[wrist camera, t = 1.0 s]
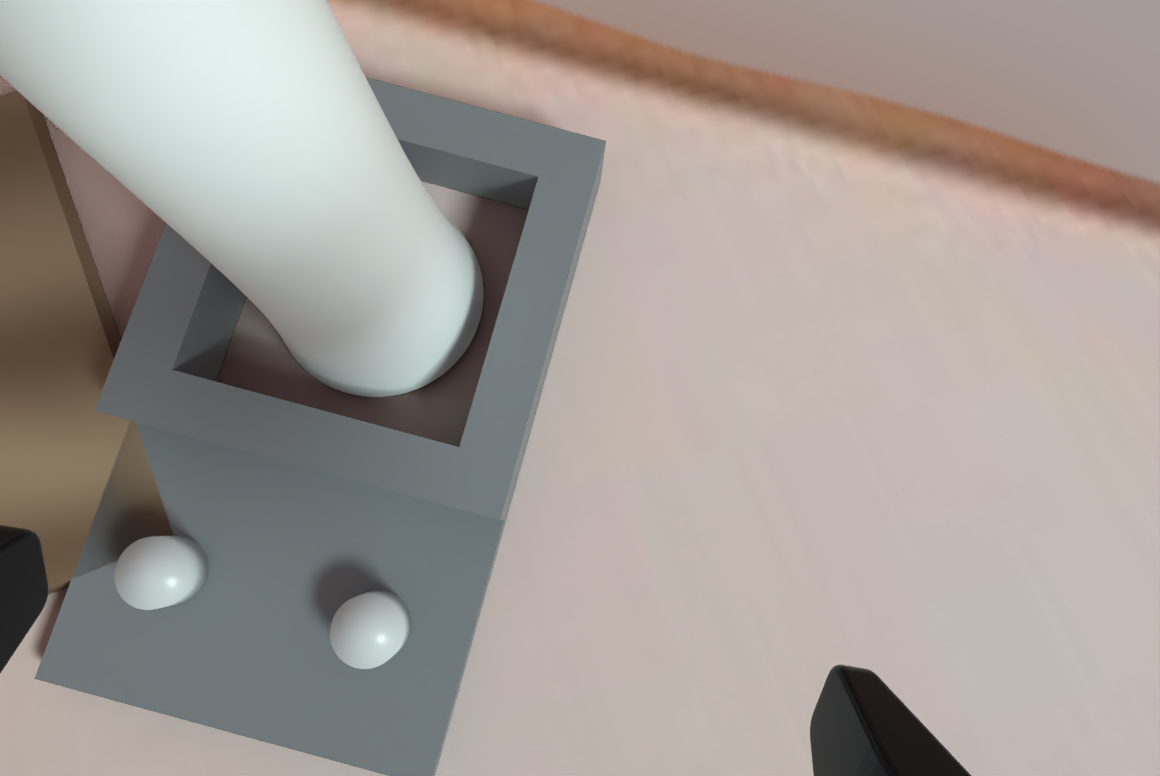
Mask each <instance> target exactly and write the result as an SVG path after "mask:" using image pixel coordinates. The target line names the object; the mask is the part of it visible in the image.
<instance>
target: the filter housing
mask: <svg viewBox="0 0 1160 776" xmlns="http://www.w3.org/2000/svg"><path fill="white" fill-rule="evenodd" d="M366 79H367V81H368V83H369V85H370V87H371V89H372V91H373V93H374V95H375V97H376V99H377V101H378V103H379V105H380V107H381V109H382V111H383V112H384V114H385V116H386V118H387V120H388V122H389V124H390V126H391V128H392V130H393V132H394V133H395V135H396V137H397V139H398V141H399V143H400V145H401V147H402V149H403V151H404V153H405V154H406V156H407V158H408V160H409V161H410V163H411V165H412V167H413V168H414V170H415V172H416V174H417V175H418V177H419V179H420V180H421V181H424V182H428V183H431V184H435V185H439V186H443V187H446V188H450V189H454V190H458V191H461V192H465V193H469V194H473V195H476V196H480V197H484V198H488V199H492V200H495V201H499V202H503V203H507V204H510V205H514V206H518V207H522V208H525V209H529V211H528V214H527V218H526V221H525V224H524V228H523V231H522V235H521V238H520V242H519V245H518V248H517V252H516V255H515V259H514V262H513V265H512V269H511V272H510V276H509V279H508V282H507V286H506V289H505V293H504V296H503V299H502V303H501V306H500V310H499V313H498V316H497V320H496V323H495V327H494V330H493V334H492V337H491V340H490V344H489V347H488V351H487V354H486V357H485V361H484V364H483V368H482V371H481V374H480V378H479V381H478V385H477V388H476V391H475V395H474V398H473V402H472V405H471V408H470V412H469V415H468V419H467V422H466V426H465V429H464V432H463V436H462V439H461V443H460V446H459V447H457V446H453V445H450V444H446V443H442V442H439V441H435V440H431V439H427V438H424V437H420V436H416V435H412V434H409V433H405V432H401V431H398V430H394V429H390V428H386V427H383V426H379V425H375V424H372V423H368V422H364V421H360V420H357V419H353V418H349V417H346V416H342V415H338V414H334V413H331V412H327V411H323V410H320V409H316V408H312V407H308V406H305V405H301V404H297V403H294V402H290V401H286V400H282V399H279V398H275V397H271V396H268V395H264V394H260V393H256V392H253V391H249V390H245V389H242V388H238V387H234V386H230V385H227V384H223V383H219V382H216V380H217V377H218V374H219V371H220V369H221V366H222V363H223V360H224V357H225V354H226V352H227V349H228V346H229V343H230V340H231V337H232V335H233V332H234V329H235V326H236V323H237V321H238V318H239V315H240V312H241V309H242V306H243V304H244V301H245V298H246V296H245V295H244V294H243V293H242V292H241V291H240V290H239V289H238V288H237V287H236V286H235V285H234V284H233V283H232V282H231V281H230V280H229V279H228V278H227V277H226V276H225V275H224V274H223V273H221V272H220V271H219V270H218V269H217V268H216V267H215V266H214V265H213V264H211V263H210V262H209V261H208V260H207V259H206V258H205V257H204V256H203V255H201V254H200V253H199V252H198V251H197V250H196V249H195V248H194V247H193V246H192V245H190V244H189V243H188V242H187V241H186V240H185V239H184V238H183V237H182V236H180V235H179V234H178V233H177V232H176V231H175V230H174V229H172V228H171V227H170V226H169V225H168V224H167V223H165V226H164V229H163V231H162V234H161V236H160V239H159V242H158V244H157V247H156V250H155V252H154V255H153V258H152V260H151V263H150V265H149V268H148V271H147V273H146V276H145V279H144V281H143V284H142V287H141V289H140V292H139V294H138V297H137V300H136V302H135V305H134V308H133V310H132V313H131V316H130V318H129V321H128V324H127V326H126V329H125V331H124V334H123V337H122V339H121V342H120V345H119V347H118V350H117V353H116V355H115V358H114V360H113V363H112V366H111V368H110V371H109V374H108V376H107V379H106V382H105V384H104V387H103V389H102V392H101V395H100V397H99V400H98V403H97V405H96V408H95V411H97V412H101V413H105V414H108V415H112V416H116V417H119V418H123V419H127V420H130V421H134V422H135V423H136V425H135V426H137V429H138V432H139V435H140V438H141V441H142V442H141V443H142V445H143V446H144V449H145V450H144V451H145V452H146V455H147V459H148V462H149V464H150V465H148V466H150V467H151V470H152V473H153V474H152V475H153V476H154V479H155V482H156V483H155V482H154V483H155V484H156V485H157V488H158V490H159V494H160V496H161V499H162V500H161V501H160V502H162V503H163V504H162V505H164V508H165V511H166V514H167V517H168V520H169V524H170V525H169V526H171V528H172V532H173V534H174V536H172V535H171V536H160V535H159V536H152V535H151V536H152V537H149V534H150V533H151V532H150V533H149V532H148V531H151V529H149V530H148V531H147V532H148V533H149V534H148V537H147V536H146V535H145V532H146V531H145V532H144V531H143V532H144V536H146V537H145V538H142V539H140V537H141V536H139V540H136V539H138V538H137V535H136V539H134V540H135V541H134V540H133V541H134V542H133V541H132V542H131V541H130V542H131V543H132V544H131V543H130V544H131V545H130V544H128V545H126V546H128V547H126V548H125V547H124V548H123V547H122V546H121V545H122V544H121V545H118V546H119V548H118V547H115V546H117V545H115V546H114V544H115V543H114V542H116V541H115V540H114V538H115V536H117V534H119V535H120V534H121V536H123V535H124V533H123V535H122V532H123V531H122V530H123V529H124V530H125V527H122V528H123V529H121V528H120V531H122V532H121V533H117V534H115V535H114V536H113V540H111V539H112V538H111V537H112V530H111V533H110V534H111V535H110V536H111V537H110V536H108V535H107V534H106V533H105V531H106V530H107V531H106V532H109V531H108V530H109V529H104V530H105V531H104V530H103V532H104V533H105V534H106V537H107V536H108V537H110V538H111V539H109V540H110V542H109V543H108V541H109V540H108V539H107V538H106V537H105V538H106V539H107V540H108V541H107V544H106V543H105V544H104V549H103V547H101V545H102V544H103V543H102V539H103V538H104V537H103V536H104V535H105V534H102V535H103V536H102V539H100V538H101V537H99V536H100V535H101V534H100V533H101V531H100V530H102V528H104V527H106V528H109V525H108V524H110V526H111V527H110V529H113V528H112V525H111V523H112V524H114V523H113V522H111V521H112V519H115V518H116V520H117V521H118V522H119V518H117V516H118V515H117V514H115V516H116V517H115V516H114V514H113V518H112V519H111V517H110V514H112V513H110V512H112V511H110V510H108V512H109V511H110V512H109V517H110V518H108V519H110V520H109V521H107V522H109V523H107V522H106V521H105V519H104V525H103V522H102V524H101V523H100V522H101V521H102V520H103V519H102V517H105V516H104V514H103V515H102V514H101V513H105V514H107V512H106V511H103V509H105V508H104V506H102V505H103V504H104V503H106V504H107V506H108V505H109V504H110V503H112V502H111V501H113V500H111V501H108V500H109V499H111V498H110V497H111V496H112V497H113V496H114V492H115V491H114V492H112V491H109V490H108V489H107V488H106V489H107V491H109V492H112V493H113V495H110V497H109V496H108V495H107V496H108V497H107V496H106V491H105V490H104V493H105V496H106V497H107V498H108V499H107V498H106V497H105V498H106V499H105V498H102V499H104V500H107V501H108V502H110V503H108V502H106V501H104V502H103V504H102V500H101V501H100V502H101V503H99V504H100V505H101V506H100V505H99V506H100V507H99V506H98V509H99V508H101V507H102V512H101V511H100V510H101V509H99V514H101V515H100V518H99V517H96V516H95V517H96V518H98V520H97V519H94V520H93V521H94V522H95V521H96V520H97V521H99V519H102V520H101V521H99V523H100V525H103V526H104V527H102V526H100V527H99V526H98V527H99V528H98V527H97V528H98V529H99V532H98V531H96V532H95V531H94V532H93V530H92V529H93V527H92V526H91V527H92V528H91V529H90V531H92V533H95V534H92V533H89V534H90V535H91V534H92V535H94V536H92V535H91V536H92V537H93V539H94V537H96V538H97V539H100V540H101V543H102V544H100V543H99V542H100V541H99V540H97V539H96V540H97V541H98V542H95V539H94V541H93V540H92V537H91V538H89V537H88V536H87V538H86V541H85V544H86V543H90V544H89V547H91V546H93V548H95V549H96V550H98V549H97V548H96V547H98V548H99V549H100V548H102V549H103V550H102V549H100V550H98V551H99V552H98V551H97V553H95V554H94V552H93V550H94V549H92V548H91V551H90V550H89V549H90V548H89V547H88V546H85V547H84V548H83V549H82V552H83V550H84V552H83V554H82V553H81V555H80V557H79V561H78V563H79V562H80V561H81V557H83V560H84V559H85V561H86V562H85V561H82V562H85V563H86V565H85V563H82V562H81V564H77V566H76V567H77V572H76V568H75V571H74V575H73V576H72V579H71V582H70V584H69V587H68V590H67V593H66V595H65V598H64V601H63V603H62V606H61V609H60V611H59V614H58V617H57V620H56V622H55V625H54V628H53V630H52V633H51V636H50V638H49V641H48V644H47V647H46V649H45V652H44V655H43V657H42V660H41V663H40V665H39V668H38V671H37V674H36V676H35V679H38V680H41V681H45V682H48V683H52V684H56V685H59V686H63V687H67V688H70V689H74V690H78V691H81V692H85V693H89V694H92V695H96V696H100V697H103V698H107V699H111V700H114V701H118V702H122V703H125V704H129V705H133V706H136V707H140V708H143V709H147V710H151V711H154V712H158V713H162V714H165V715H169V716H173V717H176V718H180V719H184V720H187V721H191V722H195V723H198V724H202V725H206V726H209V727H213V728H217V729H220V730H224V731H228V732H231V733H235V734H238V735H242V736H246V737H249V738H253V739H257V740H260V741H264V742H268V743H271V744H275V745H279V746H282V747H286V748H290V749H293V750H297V751H301V752H304V753H308V754H312V755H315V756H319V757H323V758H326V759H330V760H334V761H337V762H341V763H344V764H348V765H352V766H355V767H359V768H363V769H366V770H370V771H374V772H377V773H381V774H385V775H388V776H435V773H436V769H437V766H438V762H439V758H440V755H441V751H442V748H443V744H444V740H445V737H446V733H447V730H448V726H449V723H450V719H451V715H452V712H453V708H454V705H455V701H456V697H457V694H458V690H459V687H460V683H461V679H462V676H463V672H464V669H465V665H466V661H467V658H468V654H469V651H470V647H471V643H472V640H473V636H474V633H475V629H476V626H477V622H478V618H479V615H480V611H481V608H482V604H483V600H484V597H485V593H486V590H487V586H488V582H489V579H490V575H491V572H492V568H493V564H494V561H495V557H496V554H497V550H498V546H499V543H500V539H501V536H502V532H503V529H504V525H505V521H506V518H507V514H508V511H509V507H510V503H511V500H512V496H513V493H514V489H515V485H516V482H517V478H518V475H519V471H520V467H521V464H522V460H523V457H524V453H525V449H526V446H527V442H528V439H529V435H530V431H531V428H532V424H533V421H534V417H535V414H536V410H537V406H538V403H539V399H540V396H541V392H542V388H543V385H544V381H545V378H546V374H547V370H548V367H549V363H550V360H551V356H552V352H553V349H554V345H555V342H556V338H557V334H558V331H559V327H560V324H561V320H562V317H563V313H564V309H565V306H566V302H567V299H568V295H569V291H570V288H571V284H572V281H573V277H574V273H575V270H576V266H577V263H578V259H579V255H580V252H581V248H582V245H583V241H584V237H585V234H586V230H587V227H588V223H589V220H590V216H591V212H592V209H593V205H594V202H595V198H596V194H597V191H598V187H599V184H600V180H601V173H602V166H603V158H604V151H605V144H606V141H604V140H600V139H597V138H593V137H589V136H585V135H581V134H578V133H574V132H570V131H566V130H563V129H559V128H555V127H551V126H547V125H544V124H540V123H536V122H532V121H529V120H525V119H521V118H517V117H513V116H510V115H506V114H502V113H498V112H495V111H491V110H487V109H483V108H479V107H476V106H472V105H468V104H464V103H461V102H457V101H453V100H449V99H445V98H442V97H438V96H434V95H430V94H427V93H423V92H419V91H415V90H411V89H408V88H404V87H400V86H396V85H393V84H389V83H385V82H381V81H377V80H374V79H370V78H366ZM128 426H129V425H128ZM130 427H131V426H130ZM128 429H129V428H128ZM130 429H131V430H132V428H130ZM132 431H134V430H132ZM136 432H137V431H136ZM134 433H135V432H134ZM125 434H126V433H125ZM129 434H131V433H130V432H129ZM136 434H137V433H136ZM127 435H128V433H127ZM132 435H133V434H131V436H132ZM128 436H129V435H128ZM133 436H134V435H133ZM124 437H125V436H124ZM126 437H127V436H126ZM123 439H124V438H123ZM131 439H133V438H132V437H131ZM127 440H128V438H127ZM137 440H138V439H137ZM139 440H140V439H139ZM129 441H130V442H131V441H132V440H129ZM129 441H128V442H129ZM124 442H125V441H124ZM128 442H127V443H128ZM134 442H135V441H134ZM122 443H123V442H122ZM127 443H125V445H126V444H127ZM122 445H123V444H122ZM129 446H130V445H129ZM125 447H126V446H125ZM131 447H132V446H131ZM135 447H136V446H135ZM122 448H123V447H122ZM122 448H121V449H122ZM141 448H142V446H141ZM121 449H120V452H122V451H121ZM123 449H124V448H123ZM138 449H139V448H138ZM124 450H125V449H124ZM142 450H143V448H142ZM140 451H141V449H140ZM124 452H125V451H124ZM126 452H127V451H126ZM128 452H129V451H128ZM136 452H137V451H135V453H136ZM130 453H131V452H130ZM140 453H141V454H142V452H140ZM120 454H121V453H120ZM127 454H128V453H127ZM137 454H138V453H137ZM124 455H125V454H124ZM124 455H123V456H124ZM128 455H129V454H128ZM144 455H145V454H144ZM119 456H120V455H119ZM121 456H122V455H121ZM131 456H132V455H131ZM127 457H128V456H127ZM135 457H137V455H136V456H134V459H135ZM142 457H143V456H142ZM119 458H120V457H119ZM121 458H122V457H121ZM123 458H124V457H123ZM125 458H126V457H125ZM131 459H133V458H131ZM131 459H130V460H131ZM134 459H133V460H134ZM143 459H144V458H143ZM143 459H142V460H143ZM117 460H118V458H117ZM117 460H116V461H117ZM122 460H123V459H122ZM125 460H126V459H125ZM125 460H123V461H124V462H126V461H125ZM135 460H136V459H135ZM127 461H128V460H127ZM139 461H140V460H139ZM124 462H122V463H124ZM145 462H146V461H145ZM145 462H144V463H145ZM116 463H117V462H116ZM118 463H119V462H118ZM126 463H128V462H126ZM130 463H132V462H130ZM134 463H136V462H134ZM134 463H133V465H134ZM141 463H143V462H141ZM136 464H137V463H136ZM139 464H140V463H139ZM114 465H115V463H114ZM117 465H118V464H117ZM120 465H121V464H120ZM124 465H125V464H124ZM127 465H128V464H127ZM127 465H125V466H127ZM133 465H132V466H133ZM146 465H147V463H146ZM118 466H119V465H118ZM137 466H138V465H137ZM139 466H140V465H139ZM141 466H142V465H141ZM143 466H144V465H143ZM116 467H117V466H116ZM116 467H114V468H116ZM120 467H121V466H120ZM129 467H130V466H129ZM134 467H135V466H134ZM117 468H118V467H117ZM126 468H127V467H126ZM147 468H149V467H147ZM120 469H121V468H120ZM129 469H130V468H129ZM129 469H127V470H129ZM136 469H138V470H139V467H138V468H136ZM114 470H117V469H114ZM114 470H112V471H114ZM118 470H119V469H118ZM118 470H117V472H118ZM122 470H124V469H122ZM125 470H126V469H125ZM125 470H124V471H125ZM132 470H133V467H132ZM147 470H148V469H147ZM134 471H135V470H134ZM134 471H133V472H134ZM140 471H142V469H141V470H140ZM149 471H150V470H149ZM114 472H116V471H114ZM117 472H116V473H117ZM120 472H122V471H120ZM120 472H118V473H119V474H120ZM128 472H129V471H128ZM111 473H112V472H111ZM124 473H125V472H124ZM136 473H137V471H136ZM139 473H140V474H141V472H139ZM143 473H144V472H143ZM145 473H147V472H145ZM148 473H149V472H148ZM119 474H116V477H117V475H119ZM132 474H133V473H132ZM114 475H115V473H114V474H113V475H112V476H113V477H115V476H114ZM120 475H123V474H120ZM124 475H125V474H124ZM136 475H137V474H136ZM136 475H133V476H135V478H136V477H137V476H140V475H137V476H136ZM126 476H127V475H126ZM145 476H146V475H145ZM113 477H112V478H113ZM118 477H120V476H118ZM118 477H117V478H118ZM121 477H122V478H123V476H121ZM121 477H120V478H121ZM130 477H132V476H131V474H130ZM143 477H144V476H143ZM109 478H111V474H110V477H109ZM112 478H111V481H112V480H114V479H115V478H114V479H112ZM120 478H119V479H120ZM124 478H125V477H124ZM128 478H129V476H128ZM128 478H127V480H128V481H129V479H128ZM135 478H134V479H135ZM145 478H146V477H145ZM146 479H147V478H146ZM151 479H152V477H151ZM151 479H150V481H151ZM116 480H117V479H116ZM116 480H115V481H116ZM127 480H126V483H127ZM130 480H131V479H130ZM143 480H144V479H143ZM121 481H122V479H121ZM124 481H125V480H124ZM124 481H123V482H124ZM137 481H138V480H137ZM144 481H145V480H144ZM152 481H153V480H152ZM108 482H109V479H108ZM123 482H122V483H123ZM130 482H131V483H132V481H130ZM135 482H136V481H134V483H135ZM139 482H140V481H138V484H139ZM147 482H148V481H147ZM109 483H110V482H109ZM109 483H108V484H109ZM112 483H113V482H112ZM115 483H117V482H115ZM118 483H120V482H118ZM118 483H117V484H118ZM143 483H144V482H143ZM148 483H149V482H148ZM127 484H129V482H128V483H127ZM127 484H125V485H126V487H127ZM145 484H146V483H145ZM150 484H152V482H150ZM109 485H110V484H109ZM118 485H119V484H118ZM148 485H149V484H148ZM148 485H145V486H148ZM131 486H132V484H131ZM131 486H129V489H130V487H131ZM134 486H135V485H134ZM141 486H142V485H141ZM107 487H108V485H107ZM115 487H116V486H115ZM123 487H124V484H123ZM126 487H125V488H126ZM110 488H111V486H110ZM112 488H114V486H113V487H112ZM112 488H111V489H112ZM117 488H119V487H117ZM120 488H122V487H120ZM120 488H119V489H120ZM146 488H147V487H146ZM157 488H156V489H157ZM123 489H124V488H122V489H121V490H123ZM126 489H127V488H126ZM133 489H134V487H133ZM142 489H143V488H141V490H140V491H141V492H142ZM115 490H117V489H115ZM130 490H131V489H130ZM138 490H139V489H138V488H137V491H138ZM143 490H145V488H144V489H143ZM149 490H150V487H149ZM149 490H148V491H149ZM151 490H152V489H151ZM118 491H119V490H117V492H118ZM123 491H124V490H123ZM126 491H128V490H126ZM133 491H134V490H133ZM133 491H130V492H133ZM137 491H136V492H137ZM146 491H147V490H146ZM154 491H155V490H154ZM121 492H122V491H121ZM124 492H125V491H124ZM124 492H123V493H124ZM128 492H129V491H128ZM128 492H127V493H128ZM141 492H140V493H141ZM149 492H150V491H149ZM151 492H152V491H151ZM112 493H109V494H112ZM115 493H116V492H115ZM127 493H126V494H127ZM138 493H139V492H138ZM120 494H121V493H120ZM126 494H125V495H126ZM128 494H129V493H128ZM136 494H137V493H136ZM141 494H142V493H141ZM144 494H145V493H143V495H144ZM156 494H157V493H156ZM117 495H118V493H117ZM121 495H123V494H121ZM121 495H120V496H121ZM129 495H130V496H131V495H132V494H129ZM134 495H135V494H134ZM137 495H138V494H137ZM151 495H152V493H151ZM157 495H158V494H157ZM115 496H116V495H115ZM144 496H146V495H144ZM144 496H143V497H144ZM147 496H148V495H147ZM102 497H104V496H102ZM121 497H122V496H121ZM121 497H120V498H121ZM140 497H141V496H140ZM143 497H142V498H143ZM156 497H157V496H156ZM113 498H114V499H115V497H113ZM113 498H112V499H113ZM117 498H119V496H117ZM117 498H116V499H117ZM122 498H123V497H122ZM124 498H125V497H124ZM124 498H123V499H124ZM127 498H128V496H127ZM135 498H137V497H135ZM138 498H139V497H138ZM138 498H137V499H138ZM144 498H145V497H144ZM150 498H152V497H150ZM129 499H131V498H129ZM145 499H146V498H145ZM145 499H144V500H145ZM152 499H154V498H152ZM155 499H156V498H155ZM155 499H154V503H155ZM158 499H160V497H158ZM117 500H118V499H117ZM117 500H114V501H115V502H116V501H117ZM125 500H126V499H125ZM144 500H143V502H144ZM118 501H119V500H118ZM118 501H117V502H116V503H119V502H118ZM127 501H128V500H127ZM129 501H130V500H129ZM129 501H128V502H129ZM135 501H136V499H135ZM147 501H149V500H147ZM152 501H153V500H152ZM152 501H151V502H152ZM123 502H125V501H124V500H123ZM123 502H122V503H123ZM131 502H132V500H131ZM116 503H112V504H116ZM120 503H121V499H120ZM135 503H136V502H135ZM137 503H138V501H137ZM140 503H141V502H140ZM140 503H139V505H140ZM147 503H148V504H149V502H147ZM157 503H158V502H157ZM106 504H105V506H106ZM112 504H111V505H110V506H113V507H114V505H112ZM123 504H125V503H123ZM130 504H131V503H130ZM130 504H129V505H130ZM142 504H143V503H142ZM148 504H146V505H148ZM150 504H151V503H150ZM152 504H153V503H152ZM117 505H118V504H117ZM117 505H115V506H116V508H117ZM127 505H128V504H127ZM132 505H133V503H132V504H131V505H130V506H132ZM154 505H155V504H154ZM118 506H119V505H118ZM123 506H124V505H122V504H121V506H120V507H123ZM125 506H126V505H125ZM135 506H136V504H134V507H135ZM120 507H118V508H117V509H120ZM128 507H129V506H128ZM128 507H126V509H125V512H126V510H127V509H128ZM136 507H137V506H136ZM144 507H145V508H146V506H144ZM150 507H151V506H150ZM155 507H156V506H155ZM155 507H153V509H154V508H155ZM158 507H159V506H158ZM158 507H157V508H158ZM161 507H162V506H161ZM123 508H124V507H123ZM123 508H121V509H123ZM131 508H132V507H131ZM131 508H129V510H130V509H131ZM138 508H139V506H138ZM147 508H149V507H148V506H147ZM157 508H156V509H157ZM108 509H113V508H110V507H109V506H108ZM134 509H135V508H134ZM153 509H152V510H153ZM131 510H132V509H131ZM142 510H144V509H142ZM145 510H146V509H145ZM159 510H161V509H159ZM121 511H122V510H121ZM121 511H118V510H117V512H118V513H119V512H120V513H121ZM132 511H133V510H132ZM134 511H135V510H134ZM138 511H139V510H138ZM150 511H151V510H150ZM165 511H164V512H165ZM96 512H98V511H96ZM100 512H101V513H100ZM127 512H128V511H127ZM127 512H126V513H127ZM146 512H147V510H146V511H145V513H146ZM148 512H149V511H148ZM156 512H157V511H156ZM158 512H159V511H158ZM114 513H115V512H114ZM122 513H124V512H122ZM122 513H121V514H120V516H121V515H122ZM131 513H132V512H131ZM138 513H139V512H137V514H138ZM159 513H160V512H159ZM161 513H162V514H163V512H161ZM96 514H97V513H96ZM96 514H95V515H96ZM99 514H98V515H99ZM143 514H144V513H143ZM143 514H142V515H141V513H140V515H141V516H142V517H141V516H140V515H139V516H140V518H143V517H144V516H143ZM146 514H147V513H146ZM148 514H149V513H148ZM162 514H161V515H162ZM107 515H108V514H107ZM107 515H106V517H107ZM123 515H124V514H123ZM127 515H129V516H130V514H127ZM135 515H136V514H135ZM149 515H151V514H149ZM158 515H160V514H158ZM161 515H160V516H161ZM163 515H164V514H163ZM111 516H112V515H111ZM129 516H128V520H129V518H130V517H129ZM136 516H138V515H136ZM136 516H135V518H136ZM145 516H146V515H145ZM151 516H152V515H151ZM118 517H119V516H118ZM132 517H133V516H132ZM156 517H157V516H156ZM167 517H166V518H167ZM120 518H122V519H123V516H122V517H120ZM126 518H127V517H126V516H125V515H124V519H123V520H127V519H126ZM140 518H139V522H140ZM159 518H160V517H159ZM162 518H163V517H162ZM166 518H165V519H166ZM106 519H107V518H106ZM122 519H121V520H122ZM137 519H138V518H136V519H135V521H137ZM144 519H146V518H143V520H144ZM148 519H149V518H148ZM116 520H115V521H114V520H113V521H114V522H115V524H116V522H117V521H116ZM121 520H120V522H119V523H118V524H121ZM123 520H122V521H123ZM131 520H134V519H133V518H132V519H131ZM143 520H142V519H141V521H143ZM154 520H155V518H154ZM162 520H163V519H162ZM168 520H167V521H168ZM97 521H96V522H95V523H97ZM156 521H157V519H156ZM94 522H92V525H94V524H95V523H94ZM105 522H106V523H107V524H106V523H105ZM110 522H111V523H110ZM125 522H126V521H125ZM129 522H131V521H129ZM133 522H134V521H133ZM137 522H138V521H137ZM137 522H136V523H137ZM152 522H153V520H152ZM93 523H94V524H93ZM99 523H97V525H98V524H99ZM140 523H141V522H140ZM142 523H144V522H142ZM148 523H149V522H148ZM155 523H156V522H155ZM155 523H154V524H155ZM158 523H159V521H158ZM158 523H157V524H158ZM163 523H164V521H163ZM105 524H106V525H105ZM129 524H130V525H132V524H133V523H129ZM149 524H150V523H149ZM160 524H161V523H160ZM160 524H159V525H160ZM165 524H166V523H165ZM97 525H95V526H97ZM125 525H126V526H127V529H128V527H129V526H128V522H127V524H125ZM136 525H137V524H136ZM139 525H140V524H139V523H138V527H139ZM152 525H153V523H152ZM152 525H151V524H150V525H149V526H152ZM155 525H156V524H155ZM159 525H158V526H159ZM161 525H162V524H161ZM113 526H114V525H113ZM117 526H118V525H117ZM121 526H122V525H119V527H121ZM123 526H124V525H123ZM133 526H135V523H134V525H132V527H133ZM147 526H148V524H147ZM162 526H163V525H162ZM119 527H118V528H117V527H116V525H115V529H116V528H117V529H119ZM132 527H131V528H132ZM140 527H141V526H140ZM140 527H139V528H140ZM143 527H144V526H143ZM153 527H154V525H153ZM165 527H166V526H165ZM100 528H101V529H100ZM139 528H138V529H139ZM149 528H150V527H149ZM151 528H152V527H151ZM154 528H156V527H154ZM168 528H169V527H168ZM94 529H95V527H94ZM115 529H113V530H115ZM132 529H133V528H132ZM132 529H131V530H132ZM135 529H136V528H135ZM135 529H134V531H135ZM144 529H145V530H146V529H147V527H146V528H143V529H142V527H141V530H144ZM164 529H165V528H164ZM96 530H97V529H96ZM131 530H130V531H131ZM139 530H140V529H139ZM157 530H159V528H158V529H157ZM160 530H161V529H160ZM165 530H166V529H165ZM90 531H89V532H90ZM128 531H129V530H127V531H126V532H128ZM130 531H129V533H130ZM134 531H133V530H132V532H134ZM153 531H154V530H153ZM162 531H163V530H162ZM169 531H170V529H168V533H169ZM97 532H98V536H97ZM113 532H114V531H113ZM118 532H119V530H118ZM126 532H125V533H126ZM135 532H136V531H135ZM139 532H140V531H139ZM164 532H165V531H164ZM114 533H116V530H115V532H114ZM129 533H128V534H129ZM140 533H141V534H142V535H143V533H142V531H141V532H140ZM162 533H163V532H161V535H162ZM166 533H167V532H166ZM166 533H165V534H166ZM89 534H88V535H89ZM99 534H100V535H99ZM108 534H109V533H108ZM126 534H127V533H126ZM132 534H133V533H132ZM136 534H137V533H136ZM141 534H140V535H141ZM154 534H155V532H154ZM157 534H158V533H157ZM157 534H156V535H157ZM165 534H163V535H165ZM119 535H118V536H117V538H115V539H118V540H117V541H119V537H120V538H121V539H122V540H123V538H122V537H121V536H119ZM138 535H139V533H138ZM167 535H168V534H167ZM130 536H131V535H129V536H127V537H130ZM123 537H124V536H123ZM125 537H126V536H125ZM132 537H134V536H132ZM142 537H143V536H142ZM88 538H89V539H90V540H89V539H88ZM125 539H126V538H125ZM128 539H129V538H128ZM132 539H133V538H132ZM87 540H89V541H87ZM90 541H91V542H93V544H92V543H91V542H90ZM103 541H105V542H106V540H105V539H103ZM111 541H113V542H111ZM120 541H121V540H120ZM126 541H128V540H127V539H126ZM123 542H125V541H124V540H123ZM95 543H97V544H100V547H99V546H97V545H96V544H95ZM110 543H113V544H110ZM116 543H117V542H116ZM118 543H120V542H118ZM127 543H129V542H127ZM85 544H84V545H85ZM91 544H92V545H91ZM90 545H91V546H90ZM94 545H95V547H94ZM106 545H108V547H107V546H106ZM109 545H110V546H109ZM129 545H130V546H129ZM105 546H106V547H107V548H108V551H109V548H110V550H111V551H112V550H114V549H115V550H116V551H117V552H115V551H114V552H115V554H116V553H118V556H115V557H114V559H115V558H118V559H116V560H117V561H114V559H113V560H112V561H113V562H111V561H110V560H111V558H112V555H113V554H114V552H113V551H112V553H113V554H111V553H108V551H107V548H105ZM111 546H112V548H111ZM120 546H121V547H122V548H123V549H124V550H123V549H122V550H120ZM124 546H125V545H124ZM86 547H87V548H88V552H87V548H86ZM114 547H115V548H114ZM113 548H114V549H113ZM117 548H118V549H119V551H121V552H120V553H121V554H120V553H119V552H118V550H117ZM105 549H106V552H107V553H108V554H110V555H111V558H106V557H104V554H102V553H105ZM101 550H102V552H100V551H101ZM85 551H86V552H85ZM89 552H91V553H89ZM85 553H86V554H85ZM88 554H91V555H90V556H91V557H90V556H89V555H88ZM92 554H93V555H92ZM100 554H102V555H103V556H102V555H100ZM115 554H114V555H115ZM82 555H83V556H82ZM87 555H88V556H89V557H88V556H87ZM94 555H96V556H97V557H96V556H94ZM106 555H107V554H106ZM106 555H105V556H106ZM114 555H113V556H114ZM116 555H117V554H116ZM84 556H85V558H84ZM86 556H87V557H86ZM99 556H102V560H101V561H106V560H107V559H109V561H110V563H109V564H108V563H107V561H106V563H105V562H101V561H100V559H101V557H100V558H99ZM107 556H108V555H107ZM119 556H120V557H119ZM93 557H94V558H93ZM108 557H109V556H108ZM87 558H88V560H89V563H90V564H91V563H92V564H91V565H90V564H89V563H88V562H87V560H86V559H87ZM89 558H91V559H92V560H91V559H89ZM96 558H98V559H96ZM104 558H105V559H106V560H104ZM94 560H96V561H98V560H99V561H98V562H101V564H100V563H98V562H97V567H96V568H98V569H96V568H94V566H96V565H94V563H95V561H94ZM91 561H92V562H91ZM93 561H94V562H93ZM87 563H88V564H89V565H87ZM103 563H104V564H106V566H104V565H103ZM82 564H83V565H85V566H83V565H82ZM95 564H96V563H95ZM99 564H100V565H101V567H100V568H99V566H100V565H99ZM107 564H108V565H107ZM80 565H81V568H80V567H79V566H80ZM92 565H93V566H92ZM82 566H83V567H84V568H85V569H86V570H85V569H84V568H82ZM78 567H79V568H78ZM87 567H90V569H89V568H88V570H87ZM92 567H93V568H92ZM82 569H83V570H85V572H84V571H82ZM91 569H92V571H89V570H91ZM93 569H96V570H93ZM78 571H79V572H78ZM86 571H87V572H86ZM75 572H76V573H77V574H76V575H75ZM79 573H80V575H79ZM82 573H84V575H82ZM77 575H79V576H77ZM75 577H77V578H75Z"/></svg>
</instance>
